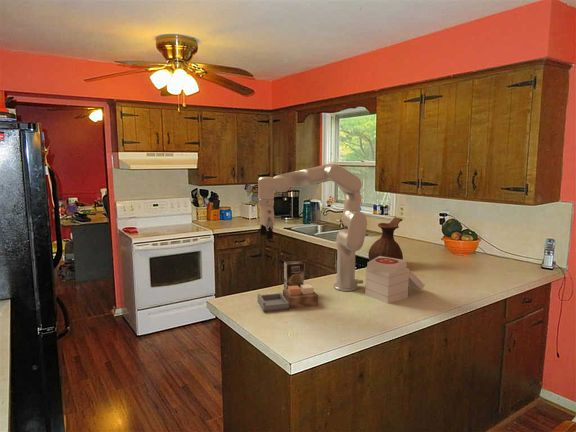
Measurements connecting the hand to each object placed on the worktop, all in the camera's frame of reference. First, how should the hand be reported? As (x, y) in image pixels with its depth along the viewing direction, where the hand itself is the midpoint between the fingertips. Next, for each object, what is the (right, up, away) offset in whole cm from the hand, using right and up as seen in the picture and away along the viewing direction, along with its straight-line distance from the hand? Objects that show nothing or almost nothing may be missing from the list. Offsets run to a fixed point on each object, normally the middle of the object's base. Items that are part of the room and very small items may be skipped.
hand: (266, 236), depth 202 cm
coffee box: (+14, -30, +10) cm, 34 cm away
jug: (+73, -22, +58) cm, 96 cm away
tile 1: (+14, -27, -6) cm, 31 cm away
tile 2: (+20, -26, -4) cm, 33 cm away
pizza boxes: (+65, -30, +9) cm, 72 cm away
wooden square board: (+16, -32, -4) cm, 36 cm away
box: (+3, -32, -8) cm, 33 cm away
